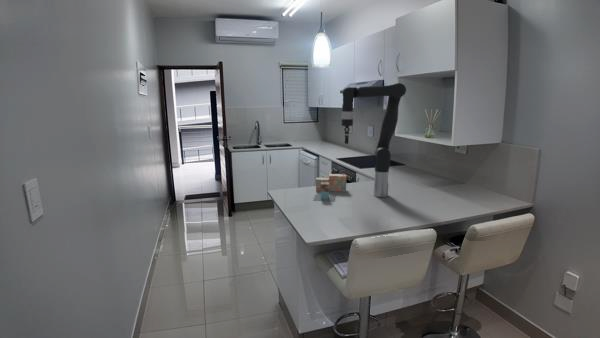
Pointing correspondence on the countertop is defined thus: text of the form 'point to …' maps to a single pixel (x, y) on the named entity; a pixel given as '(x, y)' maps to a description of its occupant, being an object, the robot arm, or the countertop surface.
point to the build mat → (331, 199)
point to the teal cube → (324, 195)
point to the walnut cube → (324, 187)
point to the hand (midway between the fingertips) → (346, 142)
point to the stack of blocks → (333, 182)
